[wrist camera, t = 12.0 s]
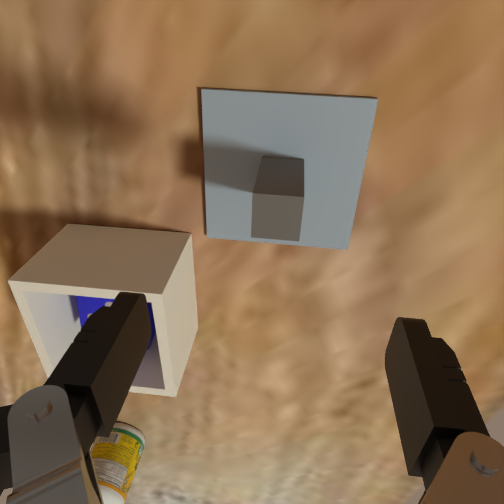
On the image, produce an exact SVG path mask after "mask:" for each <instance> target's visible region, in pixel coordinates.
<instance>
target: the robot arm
mask: <svg viewBox="0 0 504 504" xmlns="http://www.w3.org/2000/svg"><path fill="white" fill-rule="evenodd" d="M150 339H151V322H150V316H149V311H148V305H147V300H146V296H145V294H143V293H133V292H119V293H118V295H117V296H116V298H115V299H114V301H113V303H112V304H111V306H102V307H100V308H99V309H98V310H97V311H95V312H94V313H93V314H91V315H90V316H89V317H88V319H87V320H86V322H85V323H84V325H83V326H82V328H81V331H80V332H78V334H77V335H76V337H75V338H74V342H73V343H71V345H70V346H69V348H68V349H67V351H66V352H65V354H64V355H63V357H62V358H61V360H60V361H59V363H58V364H57V366H56V367H55V369H54V370H53V372H52V374H51V375H50V377H49V378H48V380H47V381H46V382H45V384H44V385H43V386H40V387H37V388H34V389H32V390H30V391H28V392H26V393H25V394H24V395H22V396H21V397H20V398H19V399H18V400H17V401H16V402H15V403H14V404H12V405H8V406H3V407H0V495H1V494H2V492H3V490H4V489H7V488H12V487H13V492H12V494H10V495H9V496H8V497H7V500H6V504H104V503H103V499H102V495H101V491H100V487H99V483H98V479H97V475H96V471H95V467H94V463H93V459H92V455H91V452H90V447H91V445H92V443H93V441H94V438H95V436H99V437H107V438H109V436H110V433H111V431H112V429H113V426H114V424H115V422H116V420H117V417H118V415H119V413H120V410H121V408H122V406H123V403H124V401H125V399H126V397H127V394H128V392H129V390H130V387H131V385H132V383H133V380H134V378H135V376H136V374H137V371H138V369H139V367H140V364H141V362H142V360H143V357H144V355H145V353H146V351H147V348H148V346H149V343H150ZM385 370H386V374H387V379H388V384H389V388H390V393H391V397H392V402H393V407H394V411H395V416H396V420H397V425H398V429H399V434H400V439H401V443H402V448H403V452H404V457H405V461H406V466H407V471H408V475H409V476H418V477H422V478H423V482H424V486H425V491H424V493H423V495H422V497H421V498H420V500H419V502H418V504H504V447H503V446H502V445H501V444H500V443H499V442H497V441H496V440H494V439H493V438H491V437H490V435H489V433H488V431H487V428H486V426H485V424H484V421H483V419H482V417H481V414H480V412H479V409H478V407H477V405H476V402H475V400H474V398H473V395H472V393H471V390H470V388H469V386H468V384H466V378H465V376H464V374H463V371H461V367H460V364H459V362H458V359H457V357H456V355H455V352H454V351H453V350H452V349H451V348H450V347H449V346H448V345H447V344H446V342H445V341H444V340H443V339H442V338H434V337H431V334H430V331H429V329H428V326H427V323H426V322H425V320H423V319H414V318H403V317H398V318H397V319H396V321H395V324H394V327H393V330H392V333H391V336H390V339H389V343H388V346H387V349H386V353H385Z"/></svg>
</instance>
